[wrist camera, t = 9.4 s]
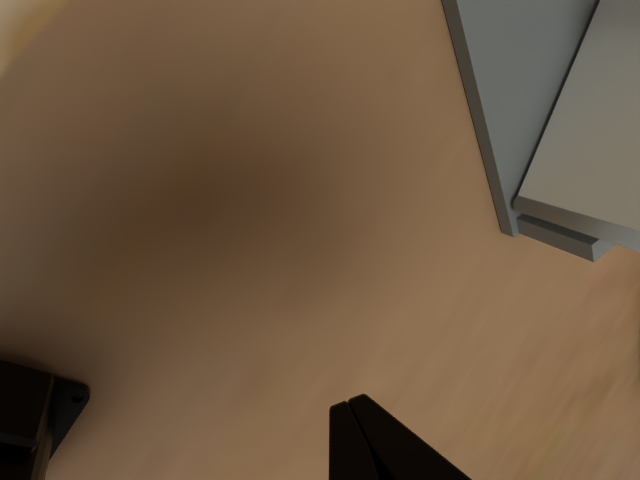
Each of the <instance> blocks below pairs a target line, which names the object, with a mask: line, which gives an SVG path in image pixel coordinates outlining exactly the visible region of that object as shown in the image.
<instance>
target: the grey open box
mask: <svg viewBox="0 0 640 480" xmlns="http://www.w3.org/2000/svg"><path fill="white" fill-rule="evenodd" d="M599 2H600V0H442V3H443V7H444V11H445V14H446V18H447V22H448V26H449V30H450V34H451V38H452V42H453V45H454V49H455V53H456V57H457V61H458V65H459V69H460V73H461V76H462V80H463V84H464V88H465V92H466V96H467V100H468V104H469V107H470V111H471V115H472V119H473V123H474V127H475V131H476V135H477V139H478V142H479V146H480V150H481V154H482V158H483V162H484V166H485V170H486V173H487V177H488V181H489V185H490V189H491V193H492V197H493V201H494V204H495V208H496V212H497V216H498V220H499V224H500V228H501V232H502V233H504V234H507V235H509V236H511V237H515V236H516V235H518V234H519V233H520V234H523V235H525V236H528V237H530V238H533V239H536V240H538V241H541V242H543V243H546V244H548V245H551V246H554V247H556V248H559V249H561V250H564V251H566V252H569V253H572V254H574V255H577V256H579V257H582V258H584V259H587V260H590V261H592V262H595V261H596V260H597V259H598V258H600V257H601V256H602V255H603V254H605V253H606V252H607V251H608V250H610V249H611V248H612V247H613V246H615V245H616V244H613V243H610V242H607V241H604V240H601V239H598V238H595V237H592V236H589V235H586V234H583V233H580V232H577V231H574V230H571V229H568V228H565V227H562V226H559V225H556V224H553V223H550V222H547V221H544V220H541V219H538V218H535V217H532V216H529V215H526V214H523V213H520V212H517V211H515V209H514V207H513V204H514V200H515V198H516V197H517V196H518V193H519V191H520V189H521V186H522V184H523V182H524V179H525V177H526V174H527V172H528V170H529V167H530V165H531V163H532V160H533V158H534V156H535V153H536V151H537V148H538V146H539V144H540V141H541V139H542V137H543V134H544V132H545V129H546V127H547V125H548V122H549V120H550V118H551V115H552V113H553V111H554V108H555V106H556V103H557V101H558V99H559V96H560V94H561V92H562V89H563V87H564V85H565V82H566V80H567V77H568V75H569V73H570V70H571V68H572V66H573V63H574V61H575V58H576V56H577V54H578V51H579V49H580V47H581V44H582V42H583V40H584V37H585V35H586V32H587V30H588V28H589V25H590V23H591V21H592V18H593V16H594V13H595V11H596V9H597V6H598V4H599Z"/></svg>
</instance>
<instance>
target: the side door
mask: <svg viewBox="0 0 640 480" xmlns="http://www.w3.org/2000/svg"><path fill="white" fill-rule="evenodd" d="M513 207H514V209H515V211H517V212H520V213H523V214H526V215H529V216H532V217H535V218H538V219H541V220H544V221H547V222H550V223H553V224H556V225H559V226H562V227H565V228H568V229H571V230H574V231H577V232H580V233H583V234H586V235H589V236H592V237H595V238H598V239H601V240H604V241H607V242H610V243H613V244H616V245H619V246H622V247H625V248H628V249H631V250H634V251H637V252H640V0H600V2H599V4H598V6H597V9H596V11H595V13H594V16H593V18H592V21H591V23H590V25H589V28H588V30H587V32H586V35H585V37H584V40H583V42H582V44H581V47H580V49H579V51H578V54H577V56H576V58H575V61H574V63H573V66H572V68H571V70H570V73H569V75H568V77H567V80H566V82H565V85H564V87H563V89H562V92H561V94H560V96H559V99H558V101H557V103H556V106H555V108H554V111H553V113H552V115H551V118H550V120H549V122H548V125H547V127H546V129H545V132H544V134H543V137H542V139H541V141H540V144H539V146H538V148H537V151H536V153H535V156H534V158H533V160H532V163H531V165H530V167H529V170H528V172H527V174H526V177H525V179H524V182H523V184H522V186H521V189H520V191H519V193H518V196H517V197H516V198H515V200H514V204H513Z"/></svg>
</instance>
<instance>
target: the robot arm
mask: <svg viewBox="0 0 640 480" xmlns="http://www.w3.org/2000/svg"><path fill="white" fill-rule="evenodd" d="M75 394H81V395H83V396H82V397H79V398H77V397H74V396H73V395H75ZM89 398H90V389H89V387H88V386H86V385H84V384H81V383H77V382H73V381H70V380H66V379H63V378H59V377H55V376H52V375H51V374H49V373H46V372H42V371H39V370H35V369H31V368H28V367H24V366H21V365H17V364H14V363H10V362H6V361H3V360H0V480H45V475H46V471H47V466H48V461H49V460H50V458H51V457H52V455H53V454H54V452H55V451H56V449H57V448H58V446H59V445H60V443H61V442H62V440H63V439H64V437H65V436H66V434H67V433H68V431H69V430H70V428H71V427H72V425H73V424H74V422H75V421H76V419H77V418H78V416H79V415H80V413H81V412H82V410H83V409H84V407H85V406H86V404H87V403H88V401H89ZM329 480H472V479H470V478H469V477H468V476H467V475H465V474H464V473H463V472H462V471H460V470H459V469H458V468H457V467H455V466H454V465H453V464H452V463H451V462H449V461H448V460H447V459H446V458H444V457H443V456H442V455H441V454H439V453H438V452H437V451H436V450H434V449H433V448H432V447H431V446H429V445H428V444H427V443H426V442H424V441H423V440H422V439H421V438H420V437H418V436H417V435H416V434H415V433H413V432H412V431H411V430H410V429H408V428H407V427H406V426H405V425H403V424H402V423H401V422H400V421H398V420H397V419H396V418H395V417H393V416H392V415H391V414H390V413H389V412H387V411H386V410H385V409H384V408H382V407H381V406H380V405H379V404H377V403H376V402H375V401H374V400H372V399H371V398H370V397H369V396H367V395H366V394H361V395H358V396H356V397H353V398H350V399H349V400H348V402H347V401H343V402H340V403H338V404H335V405H333V406H331V407H330V411H329Z"/></svg>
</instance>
